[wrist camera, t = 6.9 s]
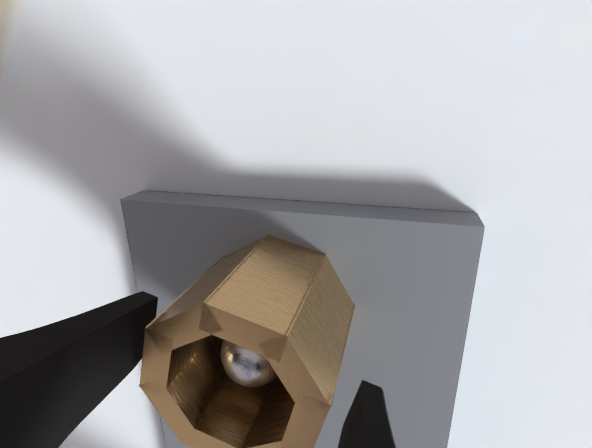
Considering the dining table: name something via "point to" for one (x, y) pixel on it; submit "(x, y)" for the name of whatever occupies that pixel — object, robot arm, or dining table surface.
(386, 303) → the slate block
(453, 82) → the dining table surface
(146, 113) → the dining table surface
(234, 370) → the steel pin
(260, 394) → the bronze ring
